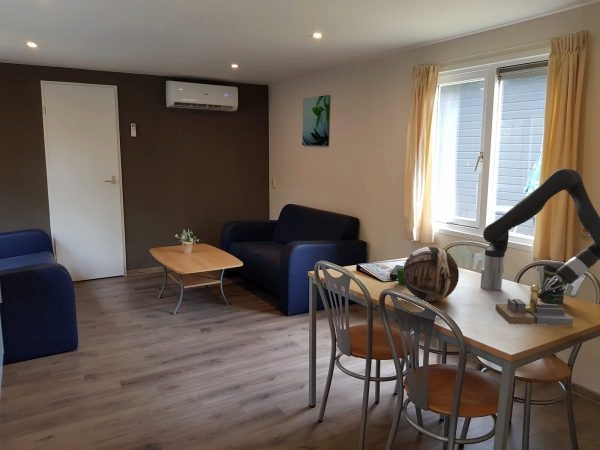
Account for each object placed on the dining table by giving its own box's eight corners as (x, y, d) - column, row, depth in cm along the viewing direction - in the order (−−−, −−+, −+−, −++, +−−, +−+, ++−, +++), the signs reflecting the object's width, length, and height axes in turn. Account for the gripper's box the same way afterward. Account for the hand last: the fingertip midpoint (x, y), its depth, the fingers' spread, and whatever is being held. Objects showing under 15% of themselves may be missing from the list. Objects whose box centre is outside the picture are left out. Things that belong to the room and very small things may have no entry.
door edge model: (553, 312, 205) (554, 296, 203) (572, 325, 189) (574, 309, 188) (495, 310, 206) (496, 294, 205) (509, 323, 190) (510, 307, 189)
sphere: (460, 311, 204) (464, 255, 199) (401, 306, 209) (404, 251, 204) (453, 293, 228) (457, 243, 224) (401, 289, 233) (403, 240, 228)
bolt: (535, 309, 198) (538, 284, 196) (539, 312, 195) (542, 286, 193) (514, 308, 199) (516, 283, 197) (517, 311, 195) (520, 285, 193)
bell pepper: (393, 282, 244) (394, 264, 243) (406, 281, 248) (407, 262, 246) (403, 287, 237) (404, 268, 235) (416, 285, 240) (417, 266, 239)
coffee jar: (547, 304, 214) (551, 265, 211) (536, 299, 222) (540, 261, 219) (566, 303, 216) (571, 265, 213) (555, 298, 224) (559, 260, 220)
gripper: (558, 260, 199) (526, 286, 202) (574, 268, 186) (540, 296, 189) (569, 272, 200) (537, 299, 203) (586, 281, 187) (552, 309, 190)
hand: (538, 297), depth 196 cm, fingers closed
